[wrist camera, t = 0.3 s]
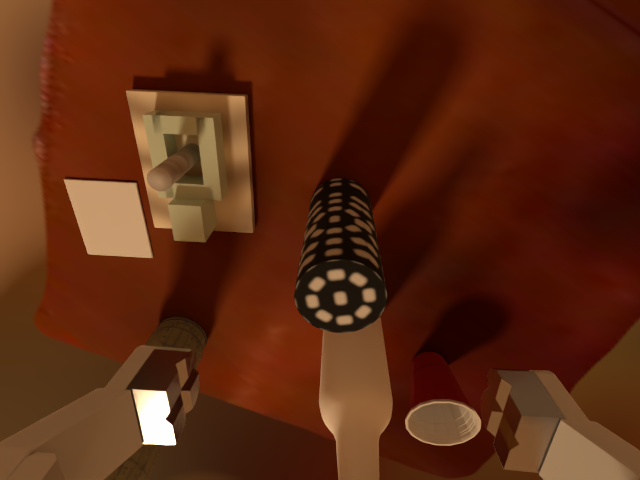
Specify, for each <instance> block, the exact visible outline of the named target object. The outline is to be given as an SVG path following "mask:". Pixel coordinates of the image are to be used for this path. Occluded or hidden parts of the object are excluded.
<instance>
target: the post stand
mask: <svg viewBox="0 0 640 480" xmlns="http://www.w3.org/2000/svg"><path fill="white" fill-rule="evenodd" d="M126 94H127V99H128V103H129V108H130V113H131V118H132V122H133V127H134V132H135V137H136V141H137V146H138V151H139V156H140V160H141V165H142V170H143V175H144V179H145V184H146V189H147V194H148V198H149V203H150V208H151V213H152V217H153V222H154V227H156V228H172V225H171V220H170V214H169V209H168V204H169V203H170V202H171V201H172V200H173V199H174V198H161V197H158V192H157V191H166V190H167V189H168V188H170V187H171V186H172V185H173V184H174V183H175V182H176V181H177V180H179V179H180V178H181V177H182V176H183V175H191V176H203V173H202V166H201V158H200V150H199V142H198V135H181V134H175V140H176V146H177V152H176V153H174V154H173V155H172V156H170V157H169V158H167V159H166V160H165V161H163V162H162V163H160V164H159V165H158V166H156V167H155V168H153V166H152V161H151V156H150V151H149V146H148V141H147V135H146V130H145V125H144V120H143V114H145V113H148V112H150V111H153V110H167V111H187V112H208V113H221V121H222V131H223V142H224V153H225V163H226V174H227V185H228V193H227V194H226V195H225V197H224V198H223V200H222V201H217V200H214V203H215V211H216V220H217V225H216V227H215V229H214V230H213V231H227V232H245V233H253V232H254V230H255V215H254V197H253V179H252V162H251V144H250V127H249V109H248V95H247V94H225V93H204V92H182V91H161V90H140V89H131V90H127V91H126Z"/></svg>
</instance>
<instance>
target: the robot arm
mask: <svg viewBox="0 0 640 480" xmlns="http://www.w3.org/2000/svg"><path fill="white" fill-rule="evenodd" d="M196 362H197V357H196V351H194V350H193V349H183V348H172V347H160V346H159V347H156V346H145V345H141V346H139V347H137V348H136V349H135V350H134V351H133V353H132V354H131V355H130V356H129V358H128V359H127V360H126V361H125V363H124V364H123V365H122V366H121V368H120V369H119V370H118V372H117V373H116V374H115V375H114V377H113V378H112V379H111V381H110V382H109V383H108V384H107V385H106V387H105V388H98V389H96V390H94V391H92V392H90V393H88V394H87V395H85V396H83V397H81V398H79V399H78V400H76V401H74V402H72V403H70V404H68V405H67V406H65V407H63V408H61V409H59V410H58V411H56V412H54V413H52V414H50V415H48V416H47V417H45V418H43V419H41V420H39V421H38V422H36V423H34V424H32V425H30V426H29V427H27V428H25V429H23V430H21V431H19V432H18V433H16V434H14V435H12V436H10V437H8V438H7V439H5V440H3V441H1V442H0V480H104V479H105V478H106V477H107V476H109V475H110V474H111V473H112V472H113V471H114V470H115V469H117V468H118V467H119V466H120V465H121V464H122V463H123V462H125V461H126V460H127V459H128V458H129V457H130V456H131V455H133V454H134V453H135V452H136V451H137V450H138V449H139V448H141V447H142V446H143V443H145V444H168V445H176V443H177V441H178V439H179V437H180V434H181V432H182V430H183V428H184V426H185V424H186V419H185V414H186V413H187V412H189V411H190V410H191V409H193V407H194V404H195V402H196V400H197V396H198V391H199V382H200V380H199V373H198V372H197V371H196V370H195V369H194V366H195V364H196ZM487 382H488V384H489V386H490V387H489V388H488V389H486V390H485V391H484V392H483V395H482V399H481V413H482V417H483V421H484V424H485V426H486V429H487V430H488V431H489V432H491V433H492V434H493V435H494V436H495V440H494V444H493V445H494V448H495V450H496V452H497V455H498V457H499V459H500V462H501V464H502V466H503V469H507V470H517V471H526V472H536V473H539V475H540V476H541V477H542V478H543V479H544V480H640V450H638V449H637V448H635V447H634V446H632V445H631V444H629V443H627V442H626V441H624V440H623V439H621V438H620V437H618V436H617V435H615V434H614V433H612V432H611V431H609V430H608V429H606V428H605V427H603V426H602V425H600V424H599V423H597V422H592V421H589V420H588V418H587V417H586V416H585V414H584V413H583V412H582V410H581V409H580V408H579V407H578V405H577V404H576V403H575V401H574V400H573V398H572V397H571V396H570V394H569V393H568V392H567V390H566V389H565V388H564V386H563V385H562V384H561V382H560V381H559V380H558V378H557V377H556V376H555V374H554V373H552V372H550V371H541V370H514V369H497V368H492V369H491V370H490V371H489V373H488V376H487Z"/></svg>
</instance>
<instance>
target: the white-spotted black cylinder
mask: <svg viewBox="0 0 640 480" xmlns="http://www.w3.org/2000/svg"><path fill="white" fill-rule="evenodd" d="M294 298H295V304H296V307H297V309H298V311H299V313H300V314H301V315H302V317H303V318H304V319H305V320H306V321H307V322H309V323H310V324H312V325H313V326H315V327H317V328H319V329H321V330H325V331H328V332H334V333H349V332H355V331H358V330H361V329H364V328H365V327H367V326H369V325H371V324H372V323H373V322H375V321H376V320H377V319H378V318H379V317H380V316H381V314H382V313H383V311H384V309H385V306H386V303H387V290H386V285H385V279H384V274H383V268H382V263H381V257H380V252H379V246H378V241H377V235H376V230H375V224H374V219H373V213H372V208H371V202H370V198H369V196H368V193H367V192H366V190H365V189H364V188H363V187H362V186H361V185H360V184H358V183H356V182H355V181H352V180H349V179H343V178H339V179H333V180H329V181H327V182H325V183H323V184H322V185H321V186H319V187H318V188H317V189H316V191H315V192H314V194H313V196H312V199H311V203H310V208H309V214H308V219H307V225H306V231H305V236H304V242H303V247H302V253H301V259H300V264H299V270H298V275H297V281H296V286H295V294H294Z"/></svg>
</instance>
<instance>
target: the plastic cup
mask: <svg viewBox="0 0 640 480" xmlns="http://www.w3.org/2000/svg"><path fill="white" fill-rule="evenodd" d="M405 421H406V429H407V430H408V431H409V433H410V434H411V435H412V436H413V437H415V438H417V439H418V440H420V441H422V442H425V443H429V444H433V445H455V444H459V443H464V442H466V441H468V440H469V439H471V438H473V437H475V435H476V434H477V433H478V432H479V430H480V428H481V420H480V418H479V416H478V415H477V413H476V412H475V410H474V409H473V408H472V407H471V405H470V404H469V402H468V400H467V399H466V397H465V395H464V393H463V392H462V390H461V388H460V386H459V384H458V382H457V380H456V378H455V377H454V375H453V373H452V372H451V370H450V369H449V367H448V365H447V363H446V361H445V360H444V358H443V357H442V356H441V355H440V354H438V353H435V352H423V353H420V354H418V355H417V356H415V357H414V358H413V360H412V364H411V397H410V409H409V413H408V415H407V416H406V419H405Z"/></svg>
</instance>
